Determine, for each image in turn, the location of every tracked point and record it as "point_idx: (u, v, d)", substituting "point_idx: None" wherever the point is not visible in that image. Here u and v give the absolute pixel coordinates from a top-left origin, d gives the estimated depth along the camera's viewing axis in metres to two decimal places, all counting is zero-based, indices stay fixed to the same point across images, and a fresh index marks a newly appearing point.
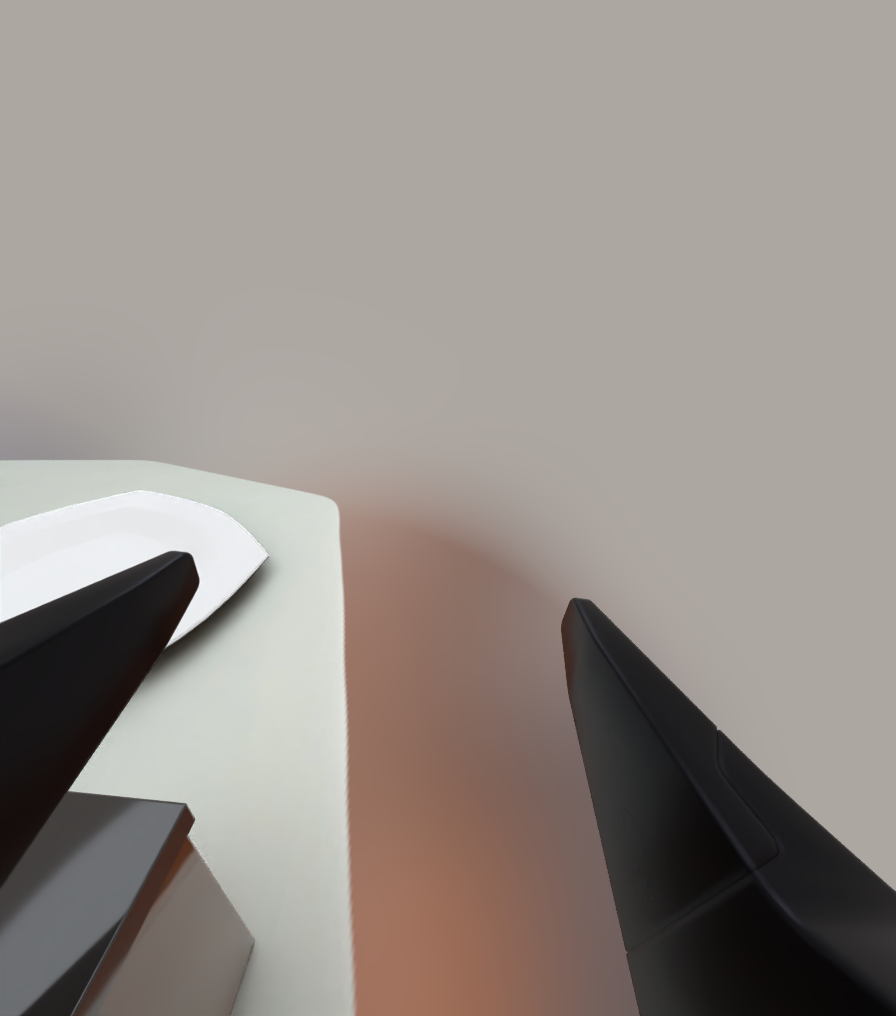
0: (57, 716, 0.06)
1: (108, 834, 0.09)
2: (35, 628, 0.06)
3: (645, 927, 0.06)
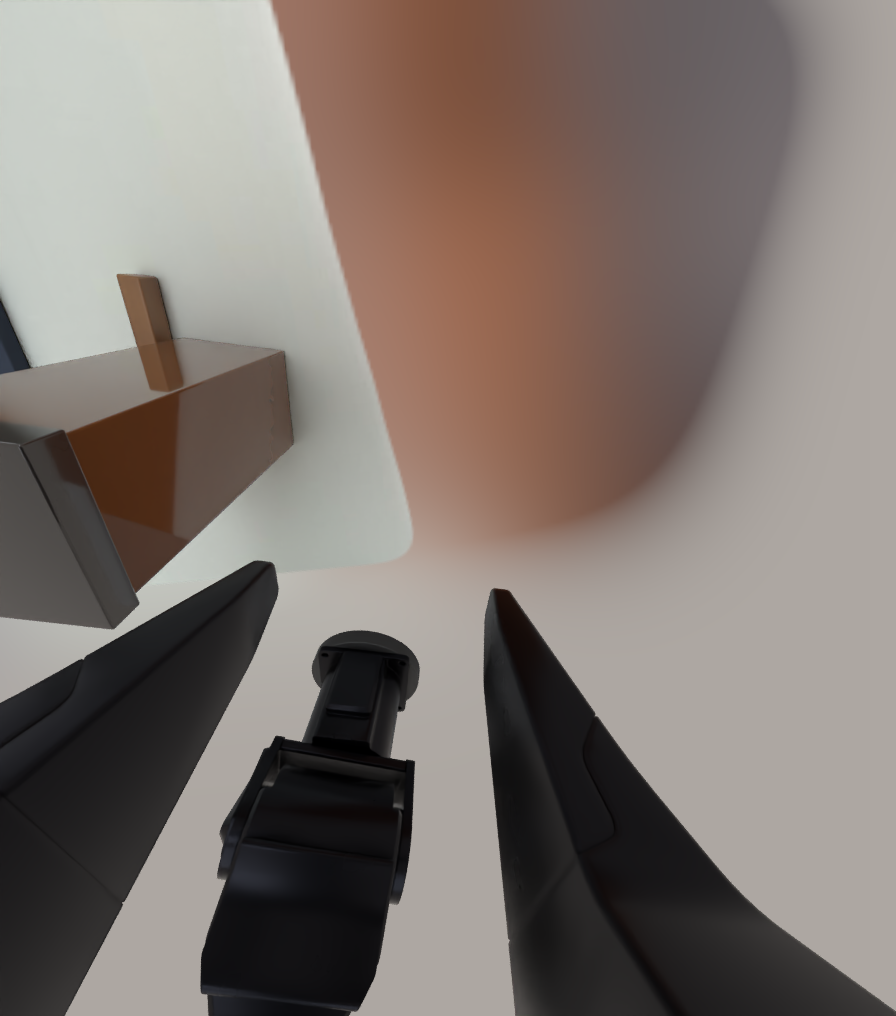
0: (174, 729, 0.06)
1: None
2: (156, 642, 0.06)
3: (519, 914, 0.06)
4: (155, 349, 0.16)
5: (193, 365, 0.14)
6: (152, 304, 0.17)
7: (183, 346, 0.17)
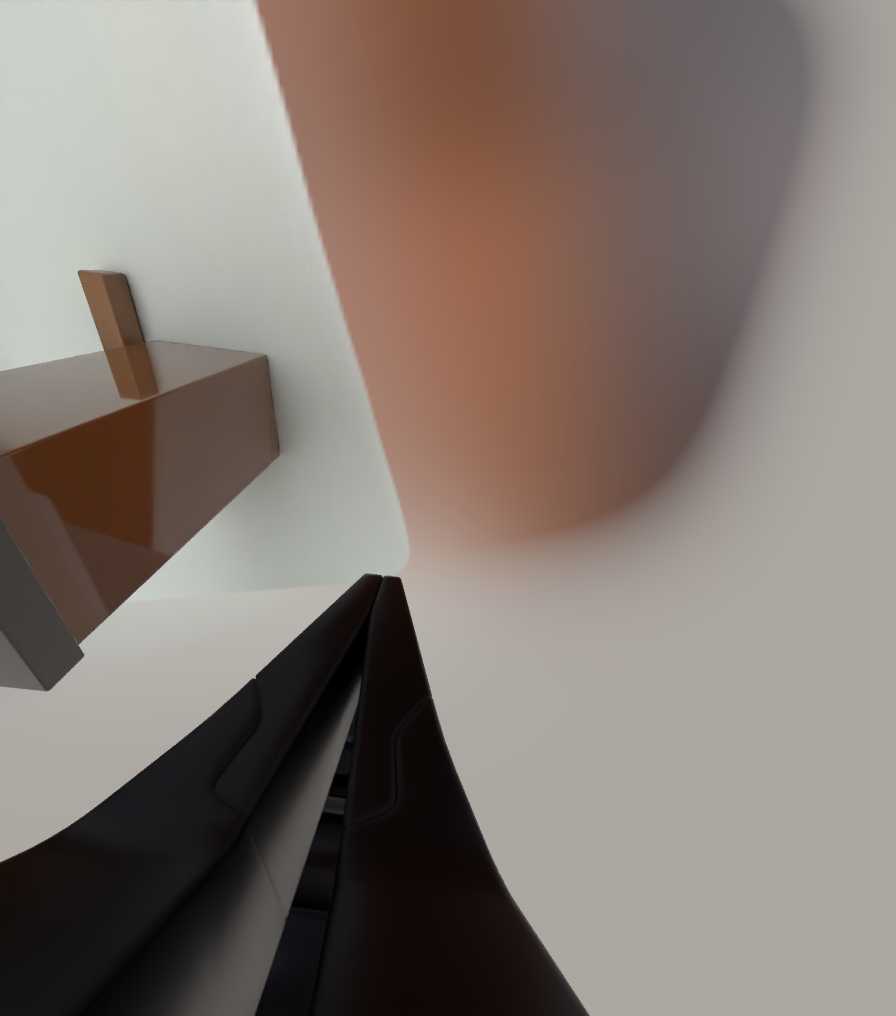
0: (327, 745, 0.06)
1: None
2: (315, 660, 0.06)
3: None
4: (120, 354, 0.14)
5: (159, 373, 0.13)
6: (119, 303, 0.15)
7: (153, 350, 0.15)
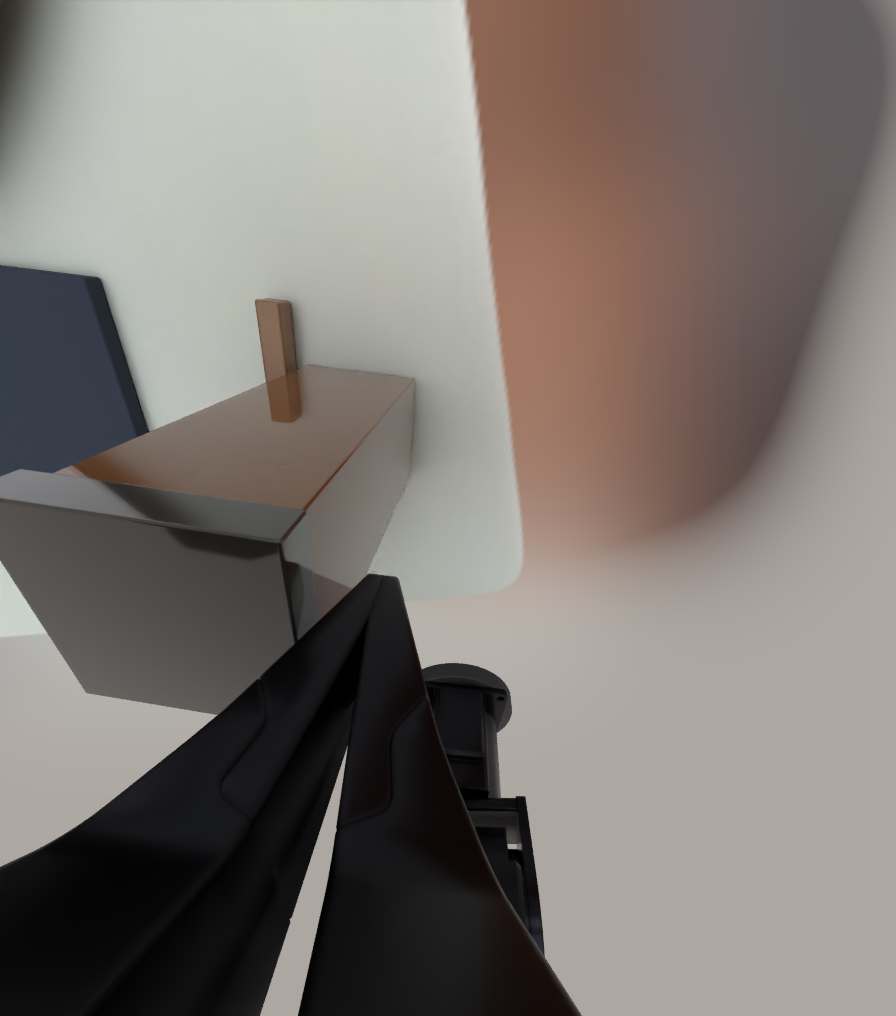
0: (331, 746, 0.06)
1: (207, 566, 0.06)
2: (319, 660, 0.06)
3: None
4: (296, 381, 0.15)
5: (348, 401, 0.13)
6: (286, 330, 0.16)
7: (318, 376, 0.16)
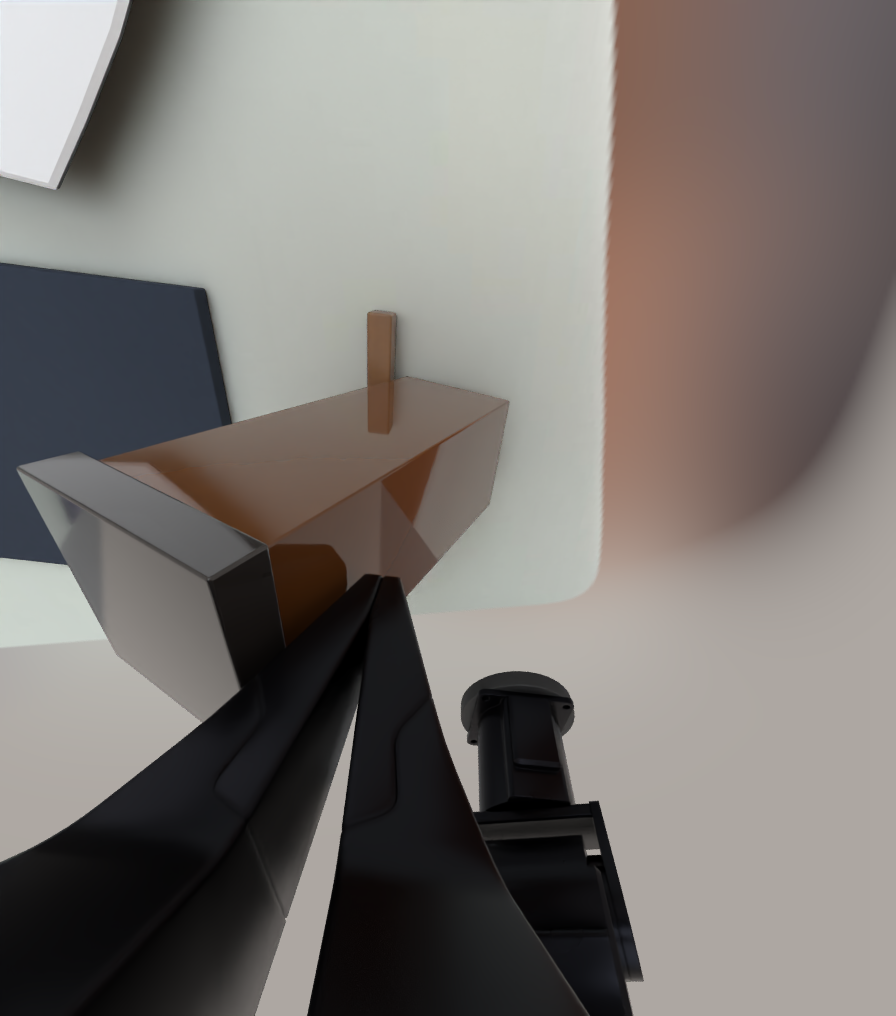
0: (327, 745, 0.06)
1: (161, 583, 0.06)
2: (315, 659, 0.06)
3: None
4: (381, 392, 0.14)
5: (417, 420, 0.12)
6: (393, 342, 0.16)
7: (407, 388, 0.15)
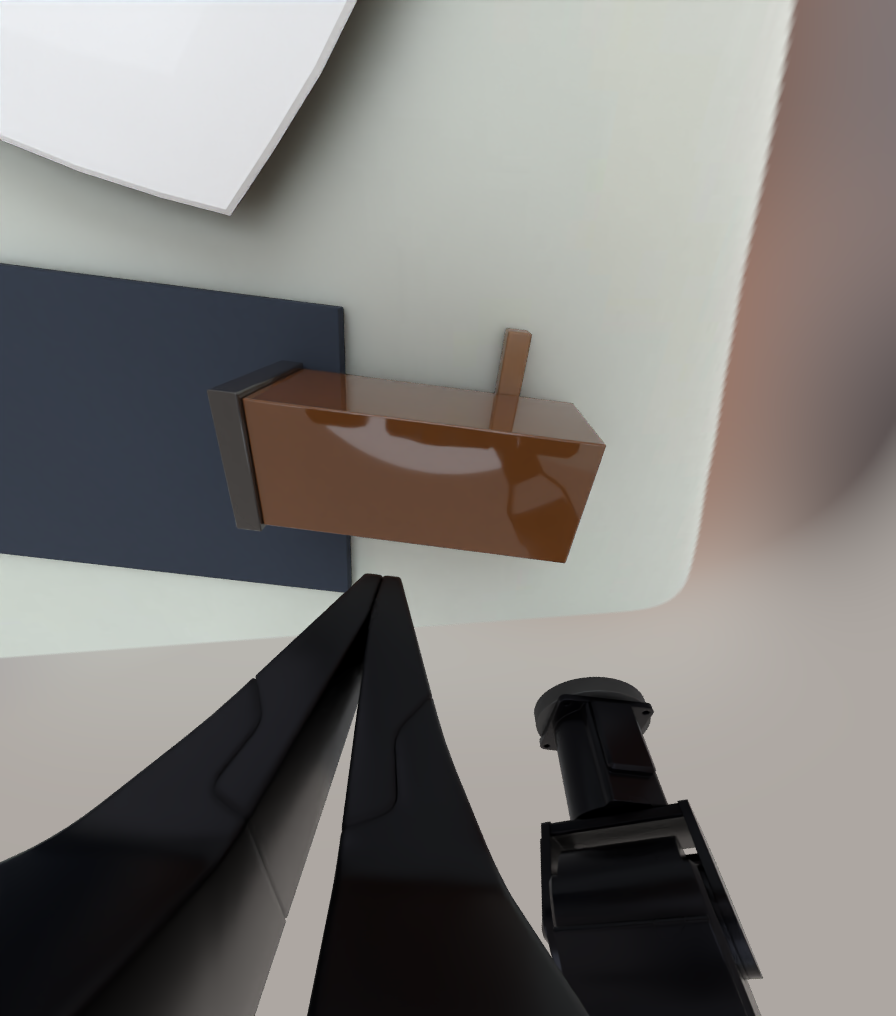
0: (327, 745, 0.06)
1: None
2: (315, 659, 0.06)
3: None
4: (503, 399, 0.16)
5: (460, 412, 0.14)
6: (525, 360, 0.16)
7: (534, 405, 0.15)
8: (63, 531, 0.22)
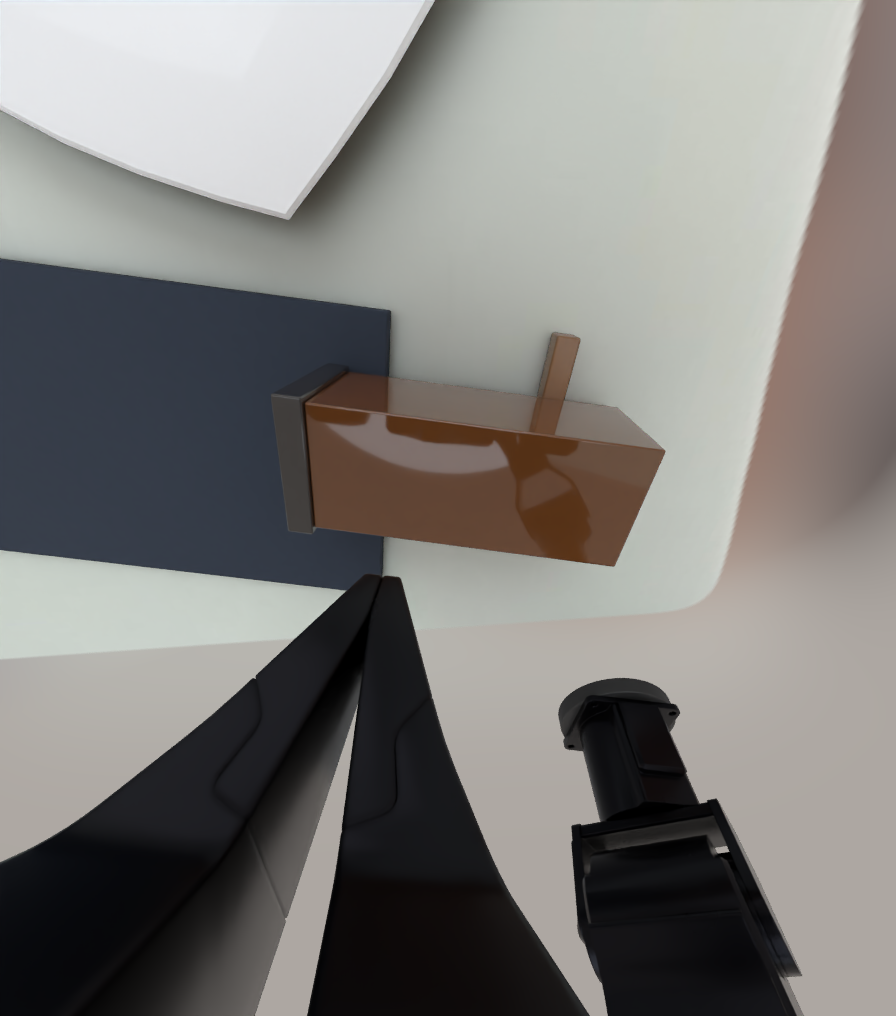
0: (327, 745, 0.06)
1: None
2: (315, 659, 0.06)
3: None
4: (551, 403, 0.16)
5: (516, 417, 0.14)
6: (571, 364, 0.16)
7: (582, 410, 0.16)
8: (97, 532, 0.22)
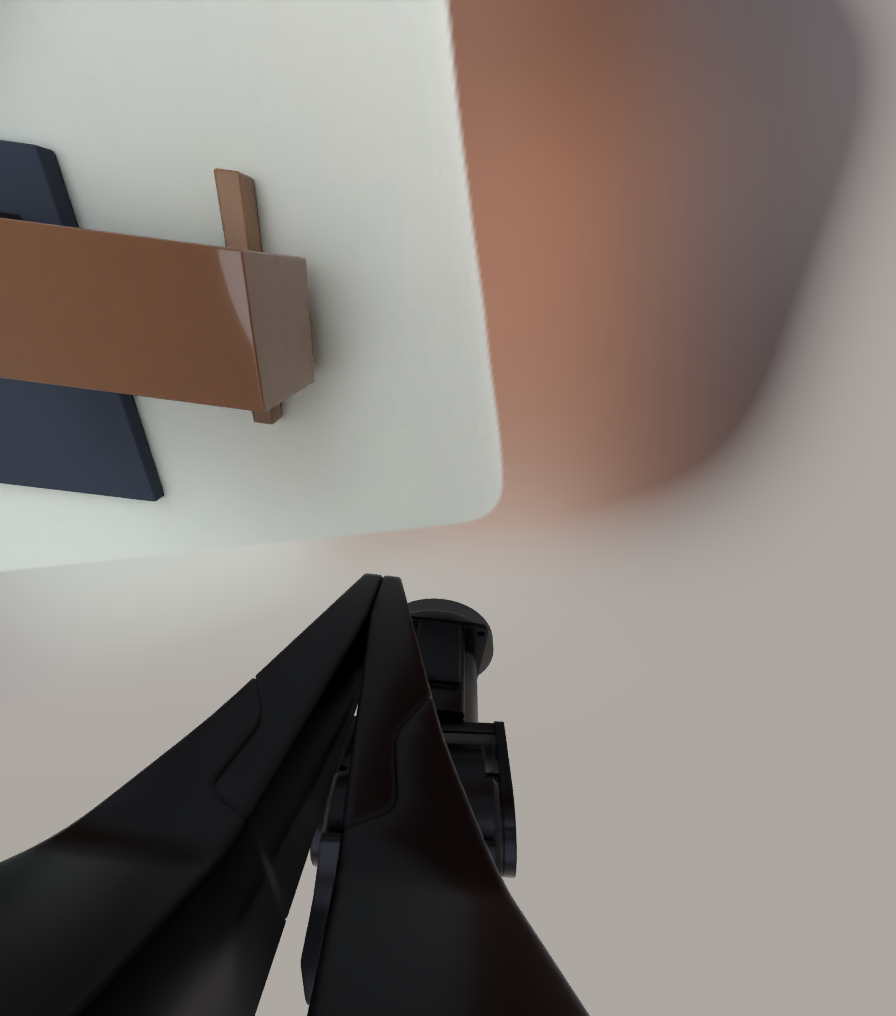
0: (327, 745, 0.06)
1: None
2: (315, 660, 0.06)
3: None
4: None
5: None
6: (248, 208, 0.15)
7: None
8: None
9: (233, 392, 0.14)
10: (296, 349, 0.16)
